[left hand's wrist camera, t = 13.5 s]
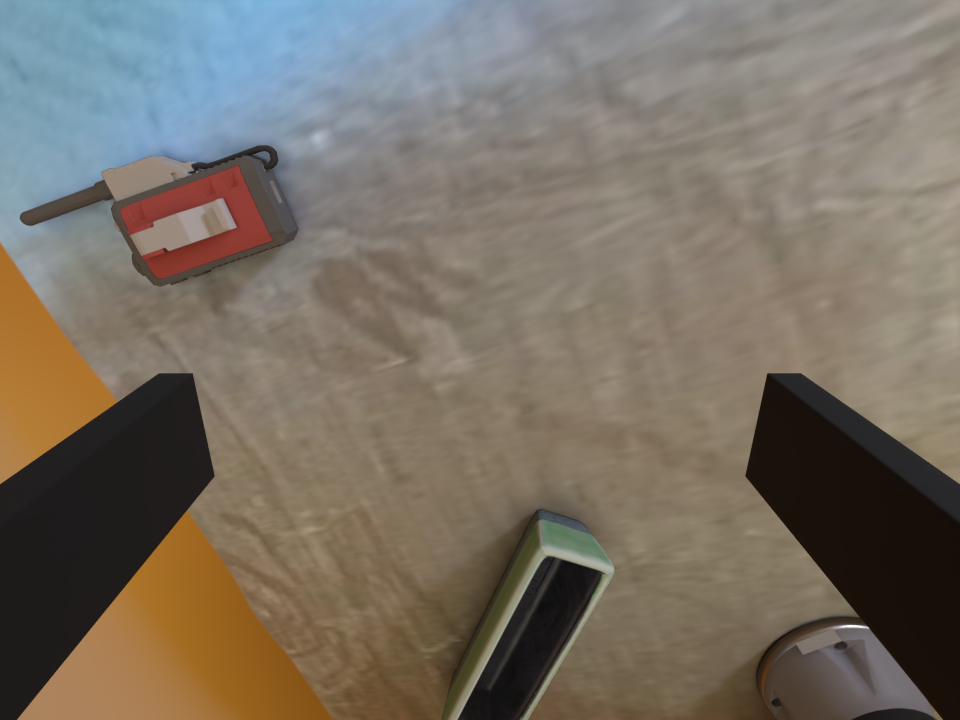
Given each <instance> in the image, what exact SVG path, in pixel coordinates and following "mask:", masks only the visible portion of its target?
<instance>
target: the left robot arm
mask: <svg viewBox="0 0 960 720" xmlns="http://www.w3.org/2000/svg"><path fill="white" fill-rule="evenodd" d="M213 478H214V471H213V466H212V462H211V457H210V452H209V448H208V443H207V438H206V434H205V429H204V424H203V420H202V415H201V410H200V406H199V401H198V396H197V392H196V387H195V382H194V378H193V373H159V374H158V375H156V376H155V377H153V378H152V379H150V380H149V381H148V382H146V383H145V384H143V385H142V386H140V387H139V388H137V389H136V390H135V391H133V392H132V393H130V394H129V395H127V396H126V397H125V398H123V399H122V400H120V401H119V402H117V403H116V404H115V405H113V406H112V407H110V408H109V409H108V410H106V411H105V412H103V413H102V414H100V415H99V416H97V417H96V418H95V419H93V420H92V421H90V422H89V423H87V424H86V425H85V426H83V427H82V428H80V429H79V430H77V431H76V432H74V433H73V434H72V435H70V436H69V437H67V438H66V439H64V440H63V441H62V442H60V443H59V444H57V445H56V446H54V447H53V448H52V449H50V450H49V451H47V452H46V453H44V454H43V455H42V456H40V457H39V458H37V459H36V460H34V461H33V462H31V463H30V464H29V465H27V466H26V467H24V468H23V469H21V470H20V471H19V472H17V473H16V474H14V475H13V476H11V477H10V478H9V479H7V480H6V481H4V482H3V483H1V484H0V720H17V719H18V718H19V716H20V715H21V714H22V713H23V711H24V710H25V709H26V708H27V706H28V705H29V704H30V703H31V702H32V700H33V699H34V698H35V697H36V695H37V694H38V693H39V692H40V690H41V689H42V688H43V687H44V686H45V684H46V683H47V682H48V681H49V679H50V678H51V677H52V676H53V674H54V673H55V672H56V671H57V670H58V668H59V667H60V666H61V665H62V663H63V662H64V661H65V660H66V658H67V657H68V656H69V655H70V654H71V652H72V651H73V650H74V649H75V647H76V646H77V645H78V644H79V642H80V641H81V640H82V639H83V638H84V636H85V635H86V634H87V633H88V631H89V630H90V629H91V628H92V626H93V625H94V624H95V623H96V621H97V620H98V619H99V618H100V617H101V615H102V614H103V613H104V612H105V610H106V609H107V608H108V607H109V606H110V604H111V603H112V602H113V601H114V599H115V598H116V597H117V596H118V594H119V593H120V592H121V591H122V590H123V588H124V587H125V586H126V585H127V583H128V582H129V581H130V580H131V578H132V577H133V576H134V575H135V573H136V572H137V571H138V570H139V569H140V567H141V566H142V565H143V564H144V562H145V561H146V560H147V559H148V557H149V556H150V555H151V554H152V553H153V551H154V550H155V549H156V548H157V546H158V545H159V544H160V543H161V542H162V540H163V539H164V538H165V537H166V535H167V534H168V533H169V532H170V530H171V529H172V528H173V527H174V525H175V524H176V523H177V522H178V520H179V519H180V518H181V517H182V516H183V514H184V513H185V512H186V511H187V510H188V508H189V507H190V506H191V505H192V503H193V502H194V501H195V500H196V498H197V497H198V496H199V495H200V494H201V492H202V491H203V490H204V489H205V487H206V486H207V485H208V484H209V482H210V481H211V480H212V479H213ZM746 478H747V479H748V480H749V481H750V482H751V484H752V485H753V486H754V487H755V489H756V490H757V491H758V492H759V494H760V495H761V496H762V497H763V498H764V500H765V501H766V502H767V503H768V505H769V506H770V507H771V508H772V510H773V511H774V512H775V513H776V514H777V516H778V517H779V518H780V519H781V521H782V522H783V523H784V524H785V526H786V527H787V528H788V529H789V530H790V532H791V533H792V534H793V535H794V537H795V538H796V539H797V540H798V542H799V543H800V544H801V545H802V546H803V548H804V549H805V550H806V551H807V553H808V554H809V555H810V556H811V558H812V559H813V560H814V561H815V562H816V564H817V565H818V566H819V567H820V569H821V570H822V571H823V572H824V574H825V575H826V576H827V577H828V578H829V580H830V581H831V582H832V583H833V585H834V586H835V587H836V588H837V590H838V591H839V592H840V593H841V594H842V596H843V597H844V598H845V599H846V601H847V602H848V603H849V604H850V606H851V607H852V608H853V609H854V610H855V612H856V613H857V614H858V615H859V617H860V618H861V619H862V620H863V622H864V623H865V624H866V625H867V626H868V628H869V629H870V630H871V631H872V633H873V634H874V635H875V636H876V638H877V639H878V640H879V641H880V642H881V644H882V645H883V646H884V647H885V649H886V650H887V651H888V652H889V654H890V655H891V656H892V657H893V658H894V660H895V661H896V662H897V663H898V665H899V666H900V667H901V668H902V670H903V671H904V672H905V673H906V674H907V676H908V677H909V678H910V679H911V681H912V682H913V683H914V684H915V686H916V687H917V688H918V689H919V690H920V692H921V693H922V694H923V695H924V697H925V698H926V699H927V700H928V702H929V703H930V704H931V705H932V706H933V708H934V709H935V710H936V711H937V713H938V714H939V715H940V716H941V718H942V719H943V720H960V484H959V483H957V482H956V481H954V480H953V479H951V478H950V477H949V476H947V475H946V474H944V473H943V472H941V471H940V470H939V469H937V468H936V467H934V466H933V465H931V464H930V463H929V462H927V461H926V460H924V459H923V458H921V457H920V456H918V455H917V454H916V453H914V452H913V451H911V450H910V449H908V448H907V447H906V446H904V445H903V444H901V443H900V442H898V441H897V440H896V439H894V438H893V437H891V436H890V435H888V434H887V433H886V432H884V431H883V430H881V429H880V428H878V427H877V426H876V425H874V424H873V423H871V422H870V421H868V420H867V419H865V418H864V417H863V416H861V415H860V414H858V413H857V412H855V411H854V410H853V409H851V408H850V407H848V406H847V405H845V404H844V403H843V402H841V401H840V400H838V399H837V398H835V397H834V396H833V395H831V394H830V393H828V392H827V391H825V390H824V389H822V388H821V387H820V386H818V385H817V384H815V383H814V382H812V381H811V380H810V379H808V378H807V377H805V376H804V375H802V374H801V373H767V378H766V382H765V387H764V392H763V396H762V401H761V406H760V410H759V415H758V420H757V424H756V429H755V434H754V438H753V443H752V448H751V452H750V457H749V462H748V466H747V471H746Z"/></svg>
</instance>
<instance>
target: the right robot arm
mask: <svg viewBox="0 0 960 720" xmlns="http://www.w3.org/2000/svg"><path fill="white" fill-rule="evenodd" d="M757 684H758V689H759V691H760V693H761V695H762V697H763V699H764V701H765V703H766V705H767V707H768V708H769V710H770V711H771V712H772V714H773V715H774V717H775V718H776V719H777V720H937V719H936V718H935V716H934V714H933V712H932V710H931V708H930V705H929V703H928V701H927V699H926V698H925V697H924V695H923V694H922V693H921V692H920V690H919V689H918V688H917V687H916V686H915V684H914V683H913V682H912V681H911V679H910V678H909V677H908V676H907V674H906V673H905V672H904V671H903V670H902V668H901V667H900V666H899V665H898V663H897V662H896V661H895V660H894V658H893V657H892V656H891V655H890V654H889V652H888V651H887V650H886V649H885V647H884V646H883V645H882V644H881V642H880V641H879V640H878V639H877V638H876V636H875V635H874V634H873V633H872V631H871V630H870V629H869V628H868V626H867V625H866V624H865V623H864V622H863V620H862V619H857V618H832V619H825V620H821V621H817V622H814V623H810V624H808V625H805V626H803V627H800V628H798V629H796V630H794V631H792V632H791V633H789V634H787V635H786V636H784V637H783V638H782V639H780V640H779V641H778V642H777V643H776V644H774V645H773V646H772V647H771V648H770V650H769V651H768V652H767V653H766V655H765V656H764V658H763V660H762V661H761V663H760V666H759V669H758V673H757Z"/></svg>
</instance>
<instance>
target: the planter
mask: <svg viewBox="0 0 960 720" xmlns="http://www.w3.org/2000/svg"><path fill="white" fill-rule="evenodd" d="M614 571H615V570H614V567H613V565H612V563H611V561H610V560H609V558H608V557H607V555H606V554H605V552H604V551H603V549H602V548H601V547H600V545H599V544H598V542H597V541H596V540H595V538H594V537H593V535H592V534H591V533H590V531H589V530H588V529H587V527H586V526H585V525H584V524H583V523H581V522H579V521H576V520H573V519H570V518H567V517H564V516H560V515H557V514H554V513H551V512H548V511H544V510H538V511H536V513H535V514H534V516H533V518H532V519H531V521H530V523H529V525H528V527H527V529H526V531H525V533H524V535H523V537H522V539H521V541H520V543H519V545H518V547H517V549H516V551H515V553H514V555H513V557H512V559H511V561H510V563H509V565H508V567H507V569H506V571H505V573H504V575H503V577H502V579H501V581H500V583H499V585H498V587H497V589H496V591H495V593H494V595H493V597H492V599H491V601H490V603H489V605H488V607H487V609H486V611H485V613H484V615H483V617H482V619H481V621H480V623H479V625H478V627H477V629H476V631H475V633H474V635H473V637H472V639H471V641H470V643H469V645H468V647H467V649H466V651H465V653H464V655H463V657H462V659H461V661H460V663H459V665H458V667H457V669H456V671H455V673H454V676H453V678H452V680H451V684H450V687H449V691H448V695H447V699H446V703H445V707H444V711H443V715H442V719H441V720H528V719H529V717H530V715H531V714H532V712H533V710H534V709H535V707H536V705H537V704H538V702H539V700H540V699H541V697H542V695H543V693H544V692H545V690H546V688H547V687H548V685H549V683H550V682H551V680H552V678H553V677H554V675H555V673H556V672H557V670H558V668H559V667H560V665H561V663H562V662H563V660H564V658H565V657H566V655H567V653H568V652H569V650H570V648H571V647H572V645H573V643H574V642H575V640H576V638H577V636H578V635H579V633H580V631H581V630H582V628H583V626H584V625H585V623H586V621H587V620H588V618H589V616H590V615H591V613H592V611H593V610H594V608H595V606H596V604H597V603H598V601H599V599H600V598H601V596H602V594H603V592H604V591H605V589H606V587H607V586H608V584H609V582H610V580H611V578H612V576H613V574H614Z"/></svg>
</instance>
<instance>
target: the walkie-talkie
mask: <svg viewBox="0 0 960 720" xmlns="http://www.w3.org/2000/svg"><path fill="white" fill-rule="evenodd" d="M262 151H267V152H268V153H269V154H270V157H271V160H270V162H268V161H267V160H265V159H263V158H261V157H259V156H257V155H253V154H256V153H258V152H262ZM277 163H278V156H277V152H276V151H275V149H274V148H272V147H271V146H267V145H262V146H256V147H253V148H250V149H248V150H245V151H242V152H240V153H237V154H234V155H231V156H229V157H226V158H223V159H220V160H217V161H214V162H211V163H208V164H206V163H196V161H190V162H185V163H182V162H179V161H176V160H174V159H171V158H168V157H164V156H149V157H147V158H144V159H141V160H138V161H136V162H133V163H130V164H128V165H125V166H122V167H119V168H110V169H107V170H105V171H102V172H101V175H102V177H103V178H104V180H103V181H100V182H97V183H95V185H94V186H93V187H90V188H87V189H84V190H82V191H79V192H76V193H74V194H71V195H68V196H66V197H63V198H60V199H58V200H55V201H52V202H50V203H47V204H44V205H42V206H39V207H36V208H33V209H31V210H28V211H25V212H23V213H22V214H21V215H20V219H21V221H22V223H24V224H25V225H28V226H32V225H35V224H38V223H41V222H43V221H46V220H49V219H52V218H54V217H57V216H60V215H63V214H65V213H68V212H71V211H74V210H76V209H79V208H82V207H85V206H87V205H90V204H93V203H95V202H98V201H101V200H109V199H112V198H115V200H116V202H114V203H113V205H112V208H111V211H112V215H113V218H114V220H115V227H116V229H117V230H118V231H119V232H121V233H122V234H123V236H124V238H125V240H126V242H127V243H128V245H129V247H130V249H131V251H132V252H133V254H132V262H133V265H134V267H135V269H136V270H137V271H138V272H139V273H140V274H142V275H143V276H146V277H147V278H148V279H149V280H150V282H151V283H152V284H153V285H157V286H160V287H161V286H164V285H166V284H169V283H170V284H171V285H173V284H176V283H179V282H182V281H184V280H186V279H188V277H190V276H194V277H197V276H200V275H203V274H206V273H208V272H210V271H211V269H213V268H215V267H219V266H221V265H225V264H227V263H231V262H233V261H237V260H239V259H241V258H242V259H243V258H245V257H247V256H251V255H253V254H257V253H259V252H263V251H266V250H268V249H272V248H274V247H278V246H280V245H284V244H286V243H288V242H290V241H292V240H294V238H295V235H296V233H297V230H298V228H297V226H296V223H295V221H294V219H293V217H292V214H291V212H290V210H289V208H288V205H287V203H286V201H285V198H284V196H283V194H282V192H281V189H280V187H279V185H278V182H277V180H276V178H275V176H274V173H273V171H272V168H274V167H275V166H276V165H277ZM199 168H201V169H207V170H202V171H200V173H199V172H198V171H199V170H200V169H199Z"/></svg>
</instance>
